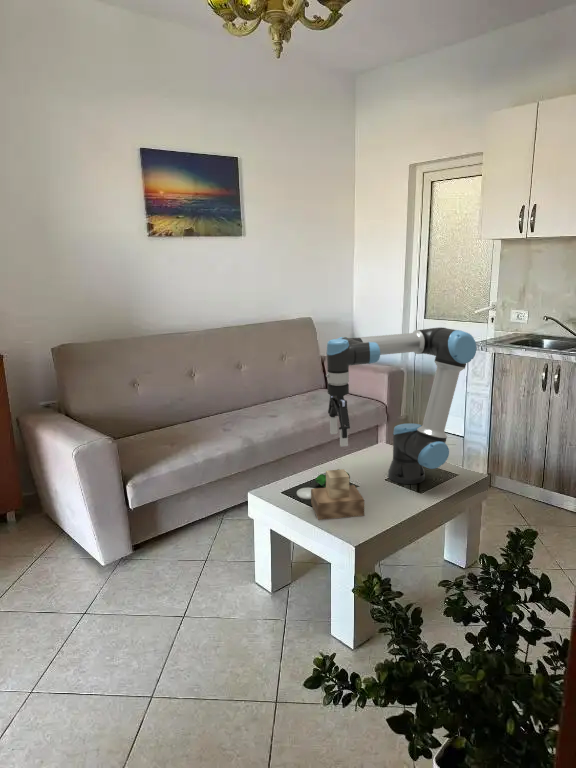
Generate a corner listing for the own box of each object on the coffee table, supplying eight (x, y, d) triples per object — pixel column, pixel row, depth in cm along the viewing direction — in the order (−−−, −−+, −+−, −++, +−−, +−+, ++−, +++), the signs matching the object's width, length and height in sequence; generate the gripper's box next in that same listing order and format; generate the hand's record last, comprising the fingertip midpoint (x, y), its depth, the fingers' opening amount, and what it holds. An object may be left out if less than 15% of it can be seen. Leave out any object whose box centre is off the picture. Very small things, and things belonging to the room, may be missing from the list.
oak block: (344, 489, 199) (344, 469, 197) (349, 497, 192) (349, 476, 190) (325, 490, 198) (325, 470, 196) (330, 498, 191) (330, 478, 189)
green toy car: (312, 486, 217) (312, 474, 216) (342, 477, 225) (342, 465, 224) (322, 492, 211) (322, 480, 210) (352, 483, 220) (353, 471, 218)
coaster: (316, 488, 215) (316, 486, 215) (321, 498, 206) (321, 496, 206) (295, 490, 213) (294, 488, 213) (298, 500, 205) (298, 498, 205)
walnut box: (354, 499, 204) (354, 484, 203) (364, 515, 192) (364, 499, 190) (311, 503, 202) (310, 488, 200) (318, 519, 189) (318, 503, 188)
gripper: (319, 376, 199) (320, 429, 204) (337, 392, 175) (337, 452, 180) (338, 374, 200) (339, 428, 205) (359, 390, 176) (359, 450, 181)
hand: (338, 439), depth 193 cm, fingers open, 13 cm apart
